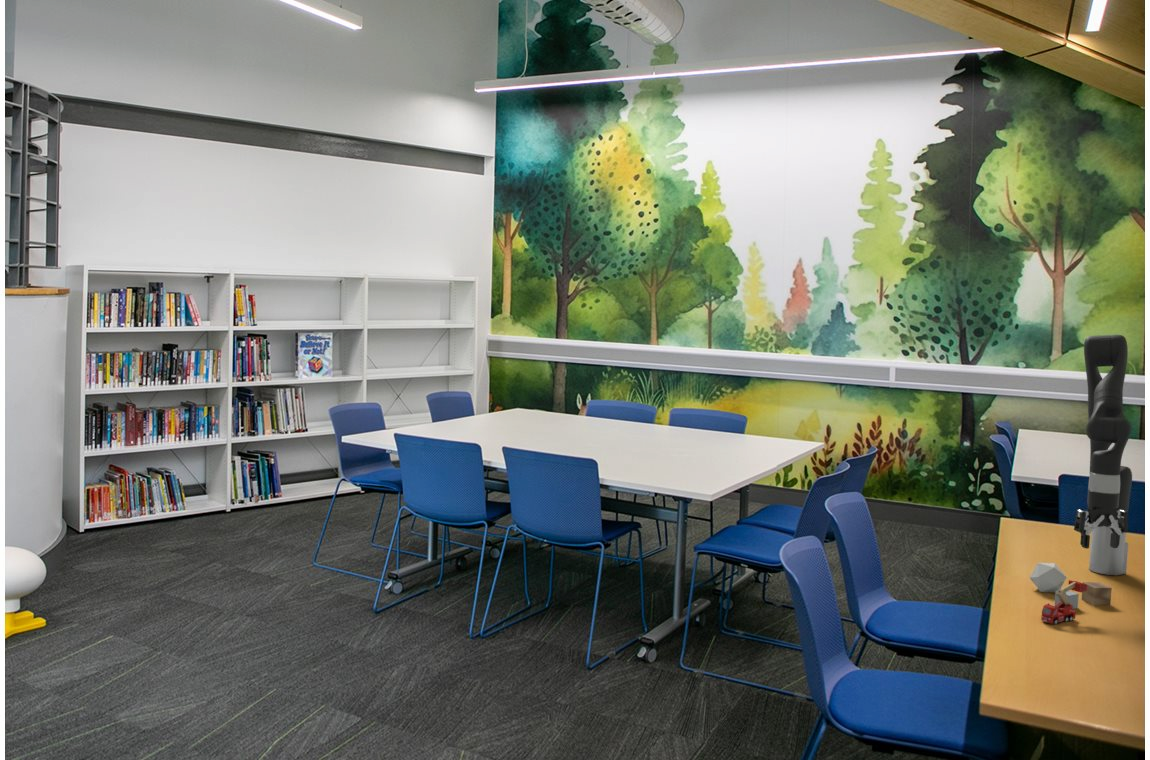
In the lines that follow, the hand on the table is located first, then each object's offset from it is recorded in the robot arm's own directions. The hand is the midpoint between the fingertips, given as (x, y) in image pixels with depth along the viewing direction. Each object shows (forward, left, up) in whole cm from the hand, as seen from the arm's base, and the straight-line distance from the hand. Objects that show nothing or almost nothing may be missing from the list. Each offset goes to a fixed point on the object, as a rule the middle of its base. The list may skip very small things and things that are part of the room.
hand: (1099, 547), depth 258 cm
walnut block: (0, 0, -16) cm, 16 cm away
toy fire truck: (+19, +13, -16) cm, 28 cm away
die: (+7, -11, -16) cm, 20 cm away
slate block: (+11, +3, -16) cm, 19 cm away
